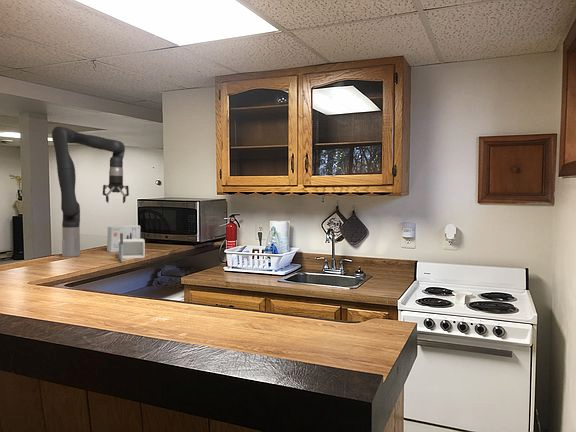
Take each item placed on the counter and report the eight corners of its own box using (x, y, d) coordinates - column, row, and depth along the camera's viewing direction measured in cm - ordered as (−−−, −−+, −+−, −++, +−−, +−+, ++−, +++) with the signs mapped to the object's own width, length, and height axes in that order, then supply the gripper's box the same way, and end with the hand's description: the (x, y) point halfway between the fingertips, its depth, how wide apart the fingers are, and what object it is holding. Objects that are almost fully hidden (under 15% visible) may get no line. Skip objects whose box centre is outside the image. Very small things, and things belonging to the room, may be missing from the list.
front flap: (118, 258, 255) (118, 231, 254) (120, 258, 255) (120, 231, 254) (121, 262, 243) (120, 233, 242) (123, 262, 243) (123, 233, 242)
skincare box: (111, 252, 277) (111, 227, 276) (106, 251, 280) (106, 226, 279) (140, 249, 293) (140, 225, 292) (136, 248, 297) (135, 224, 296)
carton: (119, 258, 256) (119, 241, 255) (118, 255, 265) (118, 239, 264) (144, 257, 261) (144, 240, 260) (143, 254, 270) (143, 238, 270)
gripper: (128, 175, 263) (128, 202, 264) (103, 174, 258) (102, 202, 259) (129, 175, 256) (128, 203, 258) (102, 174, 251) (102, 202, 252)
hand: (115, 202), depth 258 cm, fingers open, 8 cm apart
